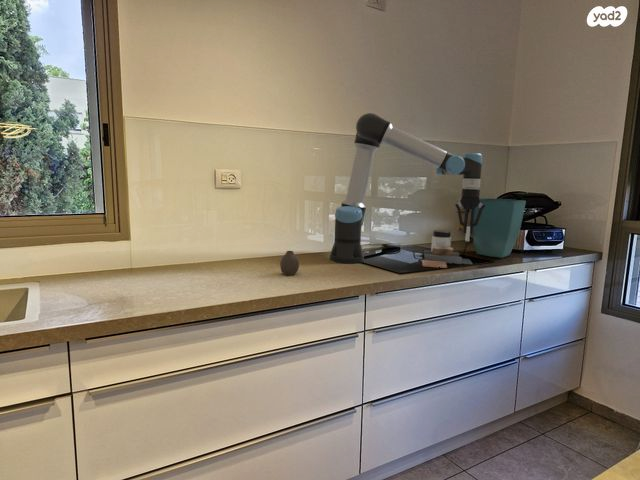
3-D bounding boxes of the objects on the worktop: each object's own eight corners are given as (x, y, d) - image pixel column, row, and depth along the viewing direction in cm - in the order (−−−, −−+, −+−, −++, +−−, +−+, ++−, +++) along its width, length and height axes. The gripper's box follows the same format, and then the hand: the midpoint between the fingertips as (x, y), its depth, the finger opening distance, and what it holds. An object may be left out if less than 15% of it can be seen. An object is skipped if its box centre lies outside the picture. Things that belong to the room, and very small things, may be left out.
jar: (443, 257, 199) (445, 232, 198) (428, 254, 205) (429, 230, 203) (452, 255, 206) (454, 231, 204) (437, 253, 211) (439, 229, 210)
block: (431, 261, 191) (432, 248, 190) (431, 258, 197) (432, 245, 197) (452, 262, 188) (453, 249, 187) (451, 260, 195) (452, 247, 194)
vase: (277, 272, 157) (278, 250, 155) (294, 271, 159) (295, 249, 158) (283, 277, 150) (284, 253, 149) (301, 275, 153) (301, 252, 152)
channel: (424, 261, 189) (424, 254, 188) (423, 256, 200) (424, 250, 200) (461, 264, 185) (461, 257, 185) (458, 259, 197) (459, 252, 197)
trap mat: (462, 264, 185) (462, 263, 185) (459, 259, 197) (459, 258, 197) (472, 264, 184) (472, 264, 184) (469, 259, 196) (469, 259, 196)
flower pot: (520, 255, 212) (526, 200, 208) (507, 260, 197) (514, 201, 193) (481, 250, 225) (486, 197, 221) (466, 254, 210) (471, 198, 206)
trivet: (422, 266, 178) (422, 264, 178) (422, 261, 188) (422, 260, 187) (446, 268, 176) (447, 266, 176) (445, 263, 185) (445, 261, 185)
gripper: (456, 188, 183) (452, 241, 187) (487, 189, 181) (483, 242, 184) (455, 188, 191) (451, 238, 194) (485, 188, 188) (480, 240, 191)
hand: (467, 240), depth 189 cm, fingers closed
